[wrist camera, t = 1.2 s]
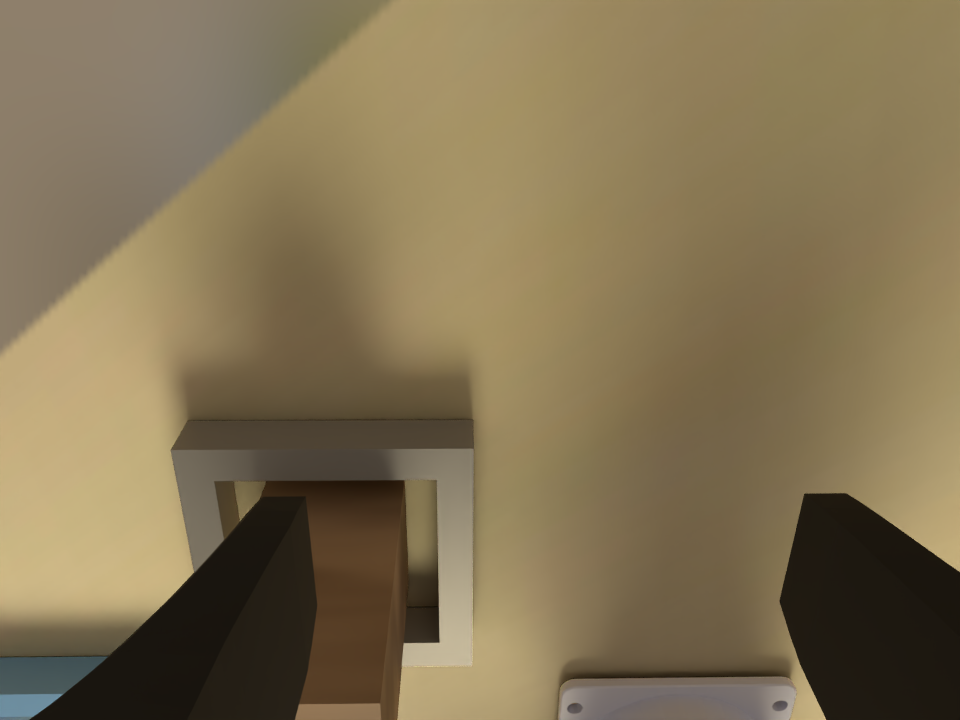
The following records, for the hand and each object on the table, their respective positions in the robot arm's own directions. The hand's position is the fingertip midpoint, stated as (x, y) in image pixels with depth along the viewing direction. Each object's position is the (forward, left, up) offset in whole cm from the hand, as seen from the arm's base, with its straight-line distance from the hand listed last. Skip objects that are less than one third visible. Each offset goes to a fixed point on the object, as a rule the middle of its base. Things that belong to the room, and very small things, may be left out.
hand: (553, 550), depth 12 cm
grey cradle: (-8, +5, -10) cm, 14 cm away
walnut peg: (-8, +5, -10) cm, 14 cm away
